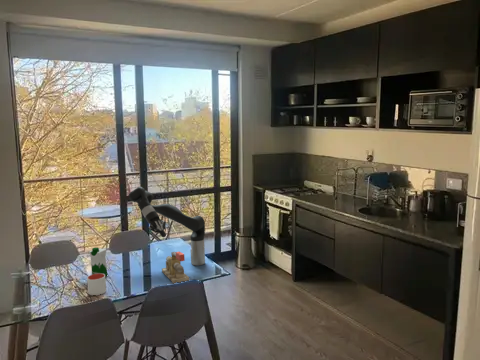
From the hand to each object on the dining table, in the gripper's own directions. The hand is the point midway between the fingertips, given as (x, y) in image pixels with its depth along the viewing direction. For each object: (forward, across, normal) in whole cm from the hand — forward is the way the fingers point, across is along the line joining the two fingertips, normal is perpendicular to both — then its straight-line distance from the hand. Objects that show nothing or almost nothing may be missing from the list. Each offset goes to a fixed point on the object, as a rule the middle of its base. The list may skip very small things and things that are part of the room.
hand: (164, 236), depth 250 cm
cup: (+5, +34, -37) cm, 50 cm away
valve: (+18, -11, -24) cm, 32 cm away
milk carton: (-10, +19, -51) cm, 56 cm away
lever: (+12, -9, -11) cm, 18 cm away
